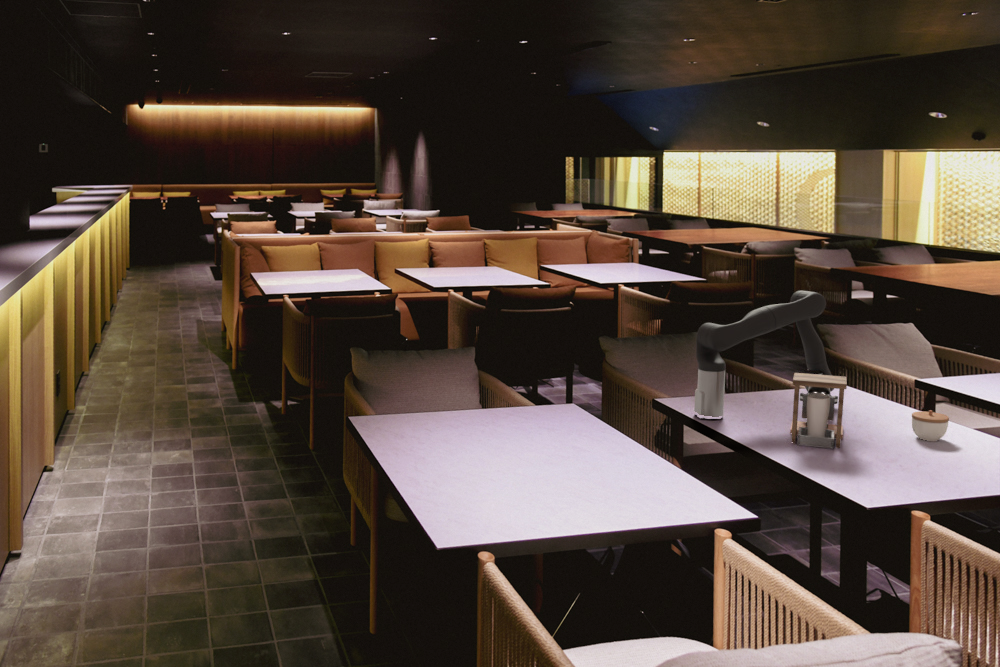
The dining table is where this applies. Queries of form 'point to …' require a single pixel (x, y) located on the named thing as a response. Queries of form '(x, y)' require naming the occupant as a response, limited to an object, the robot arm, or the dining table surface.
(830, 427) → the board
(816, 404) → the drinking glass
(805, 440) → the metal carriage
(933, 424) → the lidded jar
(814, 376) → the walnut tunnel
